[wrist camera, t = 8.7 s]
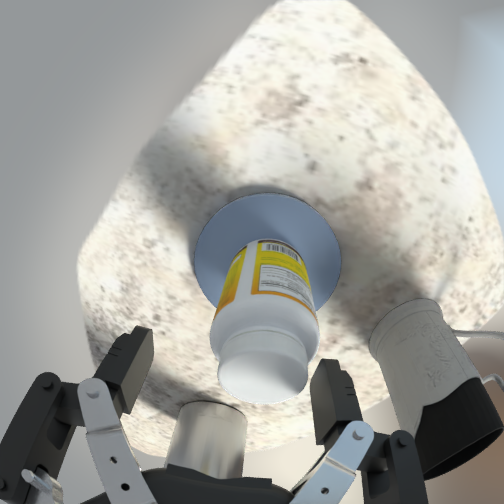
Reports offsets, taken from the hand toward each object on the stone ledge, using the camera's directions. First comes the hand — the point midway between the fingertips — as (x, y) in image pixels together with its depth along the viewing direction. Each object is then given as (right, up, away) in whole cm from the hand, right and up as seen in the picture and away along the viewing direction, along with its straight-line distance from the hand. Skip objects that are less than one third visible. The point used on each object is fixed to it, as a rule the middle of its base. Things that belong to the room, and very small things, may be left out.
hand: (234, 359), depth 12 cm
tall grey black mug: (+19, -2, +11) cm, 22 cm away
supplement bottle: (+2, +4, +8) cm, 9 cm away
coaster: (+2, +4, +9) cm, 10 cm away
